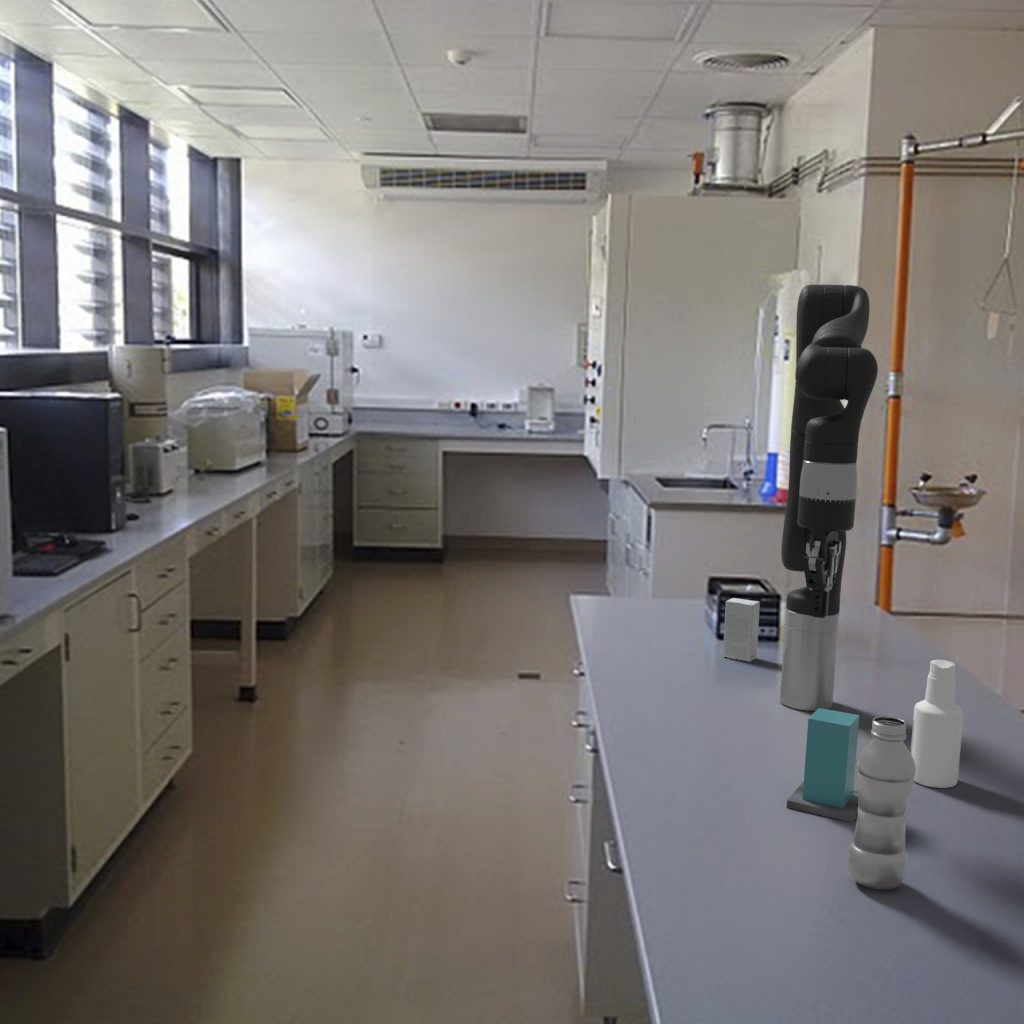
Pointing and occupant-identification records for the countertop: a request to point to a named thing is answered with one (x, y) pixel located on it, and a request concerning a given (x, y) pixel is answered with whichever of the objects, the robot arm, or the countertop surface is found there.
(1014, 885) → the countertop surface
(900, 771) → the plastic bottle
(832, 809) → the post
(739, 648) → the skincare box
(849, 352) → the robot arm
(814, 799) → the teal pillar
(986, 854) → the countertop surface
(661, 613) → the countertop surface
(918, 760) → the spray bottle
